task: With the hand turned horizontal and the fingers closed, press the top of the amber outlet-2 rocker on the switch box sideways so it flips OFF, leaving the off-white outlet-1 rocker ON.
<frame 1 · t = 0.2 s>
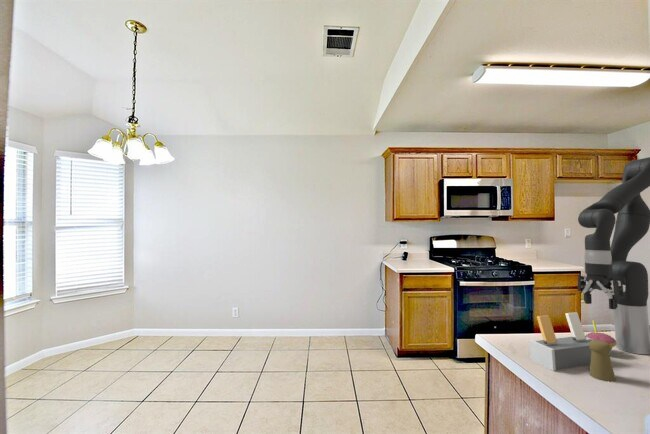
hand: (600, 306, 109), 17 cm above the countertop, tool pointing down, fingers open, 8 cm apart
cork: (602, 377, 93), on the countertop
switch box: (567, 361, 104), on the countertop
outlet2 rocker: (546, 329, 104), point 11 cm above the countertop, hinge at 15.0°
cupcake: (601, 353, 109), on the countertop
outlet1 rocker: (575, 326, 106), point 11 cm above the countertop, hinge at 15.0°
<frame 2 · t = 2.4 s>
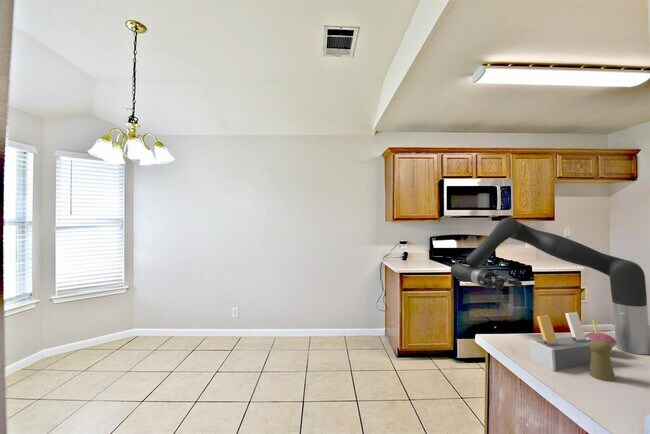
hand: (512, 285, 119), 25 cm above the countertop, tool horizontal, fingers open, 8 cm apart
nothing on the countertop moved.
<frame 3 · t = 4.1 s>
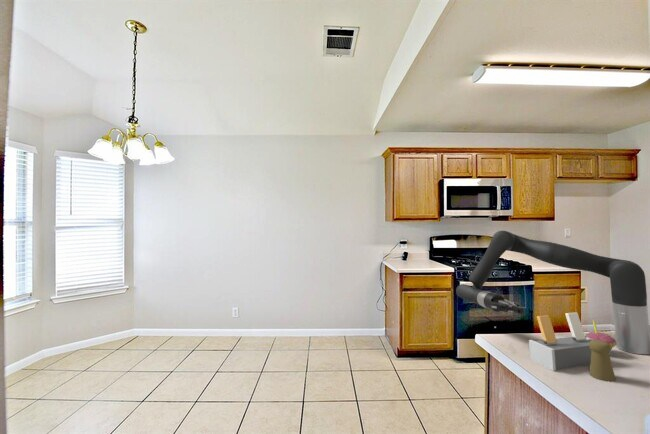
hand: (522, 311, 115), 15 cm above the countertop, tool horizontal, fingers closed
nothing on the countertop moved.
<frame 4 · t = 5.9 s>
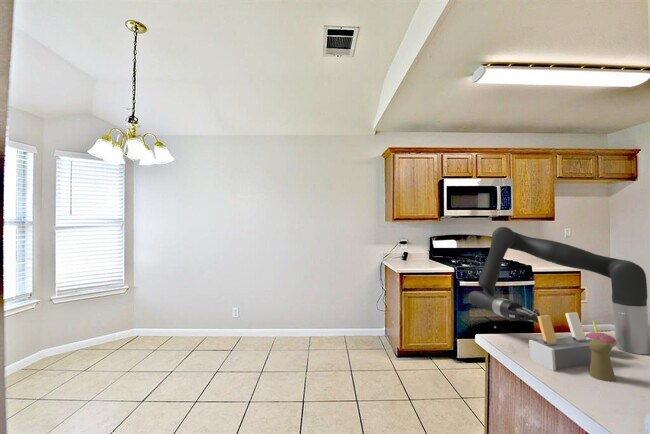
hand: (543, 320, 105), 14 cm above the countertop, tool horizontal, fingers closed
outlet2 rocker: (547, 329, 104), point 11 cm above the countertop, hinge at 13.1°, touching gripper
everything else where it was.
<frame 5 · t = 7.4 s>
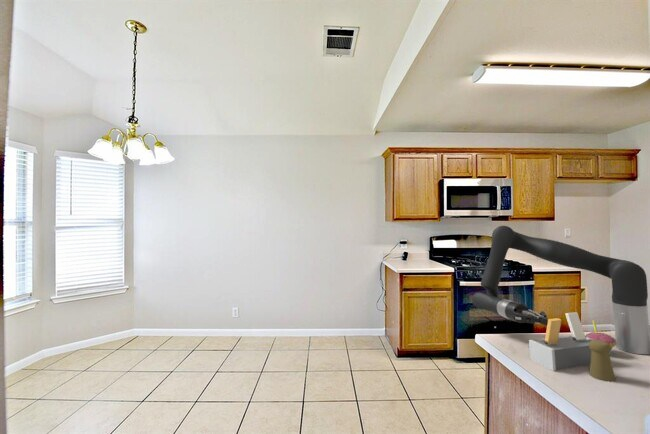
hand: (551, 323, 102), 14 cm above the countertop, tool horizontal, fingers closed
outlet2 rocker: (552, 331, 102), point 11 cm above the countertop, hinge at -14.1°
everything else where it was.
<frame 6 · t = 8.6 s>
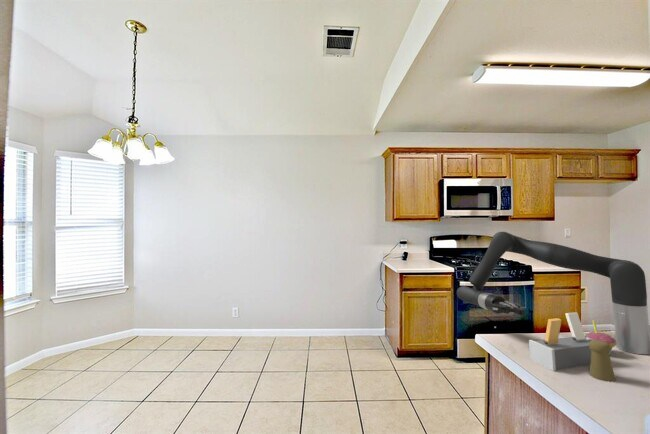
hand: (523, 312, 114), 15 cm above the countertop, tool horizontal, fingers closed
nothing on the countertop moved.
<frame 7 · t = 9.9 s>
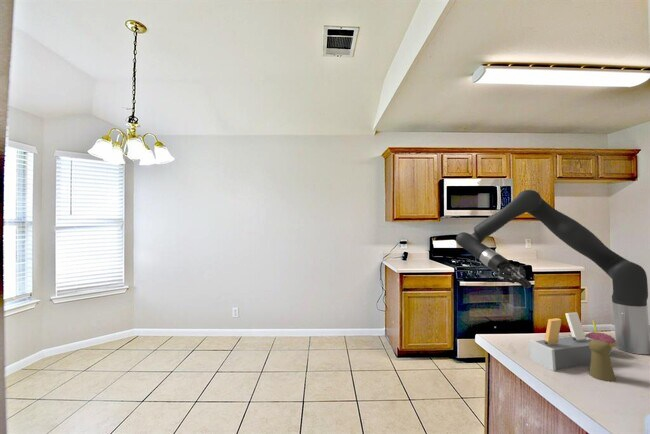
hand: (529, 286, 116), 24 cm above the countertop, tool tilted 60°, fingers closed
nothing on the countertop moved.
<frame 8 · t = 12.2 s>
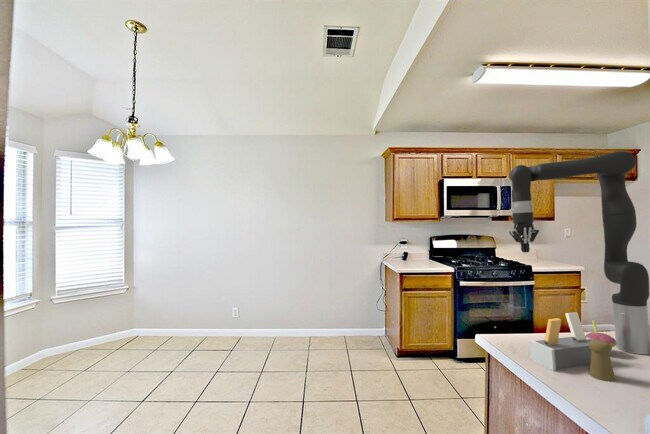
hand: (525, 252, 126), 37 cm above the countertop, tool pointing down, fingers closed
nothing on the countertop moved.
at the end: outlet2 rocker at -14° (first picture: +15°); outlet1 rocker at +15° (first picture: +15°); cork moved 0.2 cm from its start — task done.
